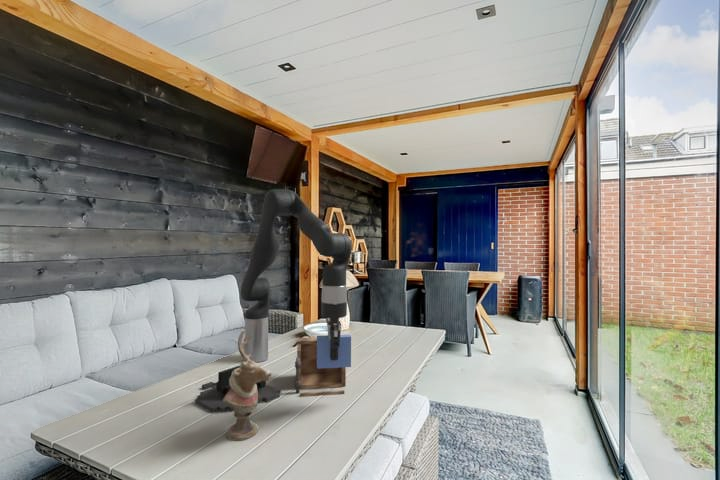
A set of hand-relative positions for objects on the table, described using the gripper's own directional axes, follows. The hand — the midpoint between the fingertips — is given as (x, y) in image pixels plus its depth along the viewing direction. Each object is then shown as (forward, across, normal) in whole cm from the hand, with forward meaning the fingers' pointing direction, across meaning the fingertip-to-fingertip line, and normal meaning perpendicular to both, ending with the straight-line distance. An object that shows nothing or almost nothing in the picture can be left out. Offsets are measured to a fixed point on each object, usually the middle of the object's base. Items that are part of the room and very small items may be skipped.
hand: (333, 358), depth 105 cm
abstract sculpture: (+15, -11, -31) cm, 36 cm away
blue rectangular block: (+2, 0, 0) cm, 2 cm away
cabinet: (+14, -16, -3) cm, 21 cm away
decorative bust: (+14, +13, -23) cm, 30 cm away
